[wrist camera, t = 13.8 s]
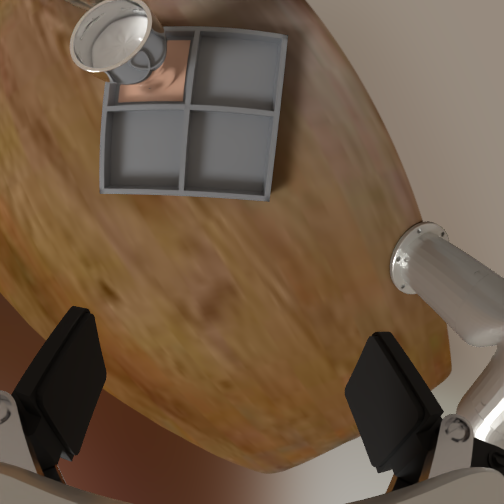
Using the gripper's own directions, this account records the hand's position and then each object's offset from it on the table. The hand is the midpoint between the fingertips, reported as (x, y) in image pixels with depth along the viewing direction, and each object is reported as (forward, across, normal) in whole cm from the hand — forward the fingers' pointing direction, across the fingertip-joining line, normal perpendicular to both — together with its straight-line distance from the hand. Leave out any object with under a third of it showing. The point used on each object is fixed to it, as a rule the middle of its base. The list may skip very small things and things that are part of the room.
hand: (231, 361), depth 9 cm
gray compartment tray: (+28, +6, -10) cm, 31 cm away
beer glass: (+27, +11, -14) cm, 33 cm away
